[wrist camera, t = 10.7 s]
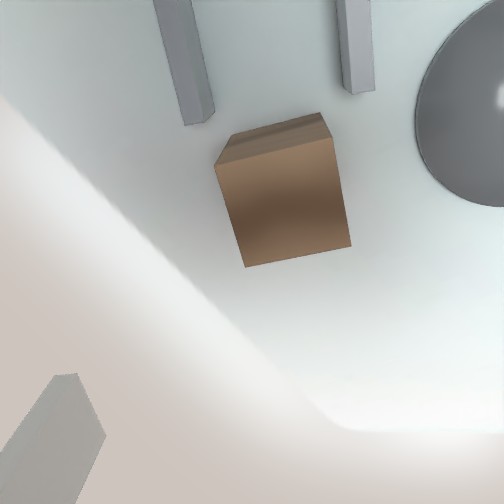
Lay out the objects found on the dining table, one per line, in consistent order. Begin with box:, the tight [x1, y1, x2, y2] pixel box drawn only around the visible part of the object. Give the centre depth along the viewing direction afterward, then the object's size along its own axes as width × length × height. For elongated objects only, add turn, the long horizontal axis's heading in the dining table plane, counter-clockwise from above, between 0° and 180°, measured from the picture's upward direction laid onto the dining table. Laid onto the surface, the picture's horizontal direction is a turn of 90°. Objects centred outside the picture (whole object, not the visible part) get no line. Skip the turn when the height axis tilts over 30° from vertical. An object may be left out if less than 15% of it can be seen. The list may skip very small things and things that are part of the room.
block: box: [214, 112, 351, 267], centre depth 25 cm, size 6×6×8 cm
